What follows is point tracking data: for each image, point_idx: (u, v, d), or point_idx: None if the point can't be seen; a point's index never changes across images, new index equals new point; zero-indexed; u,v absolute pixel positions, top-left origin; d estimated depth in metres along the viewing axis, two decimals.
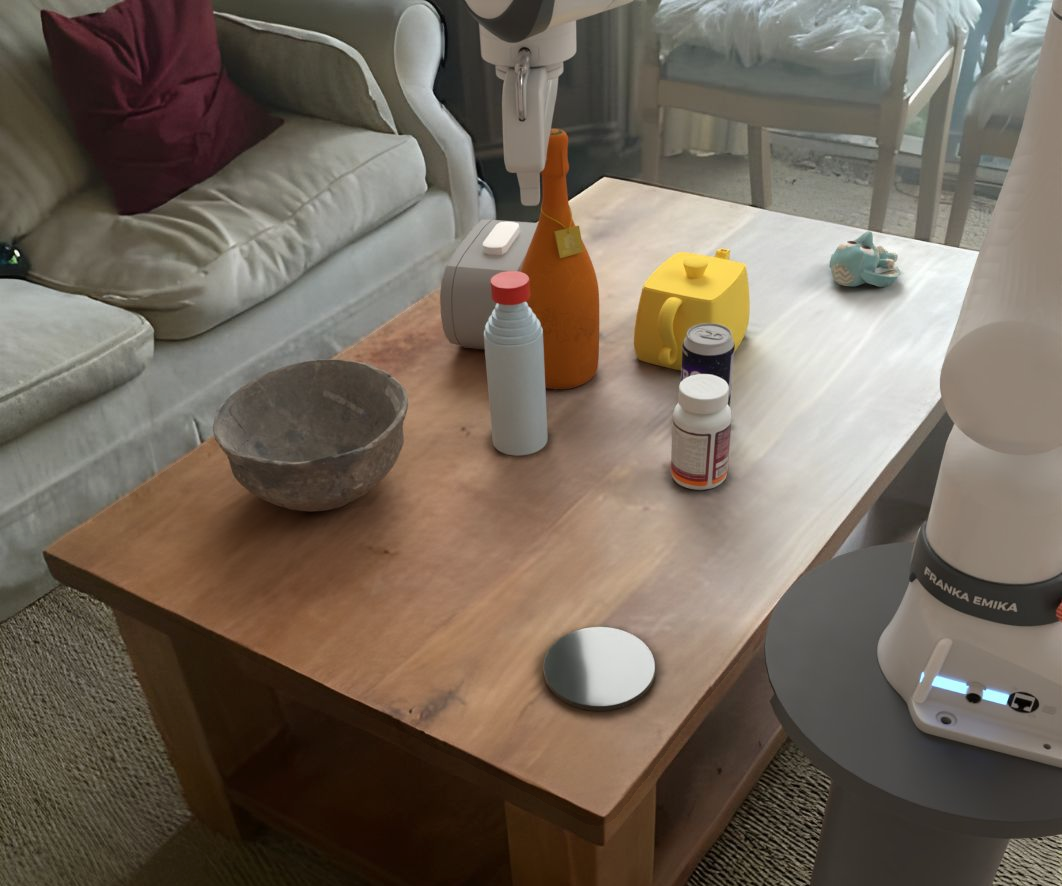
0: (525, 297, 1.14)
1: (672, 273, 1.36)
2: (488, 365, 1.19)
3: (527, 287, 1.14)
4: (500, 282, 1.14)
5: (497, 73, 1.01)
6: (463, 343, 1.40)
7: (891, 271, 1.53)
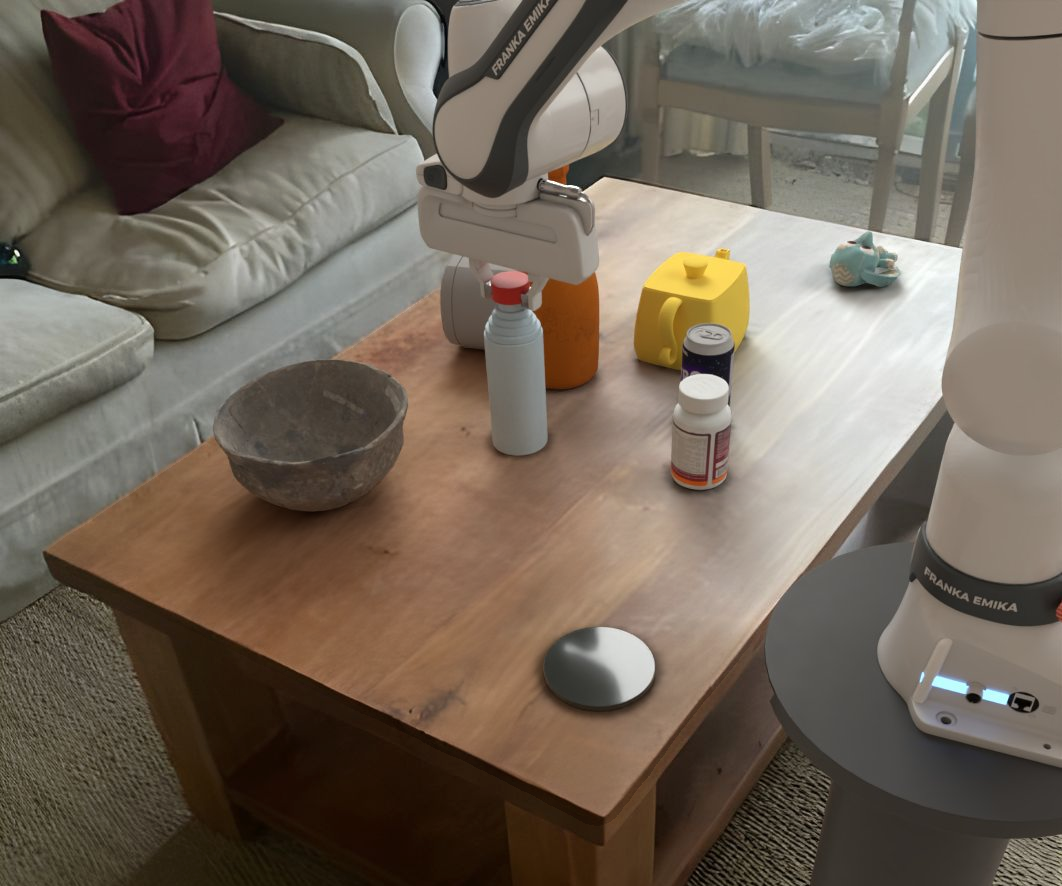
0: None
1: (672, 273, 1.36)
2: (488, 365, 1.19)
3: (527, 287, 1.14)
4: (501, 282, 1.14)
5: (497, 214, 1.06)
6: (463, 343, 1.40)
7: (891, 271, 1.53)
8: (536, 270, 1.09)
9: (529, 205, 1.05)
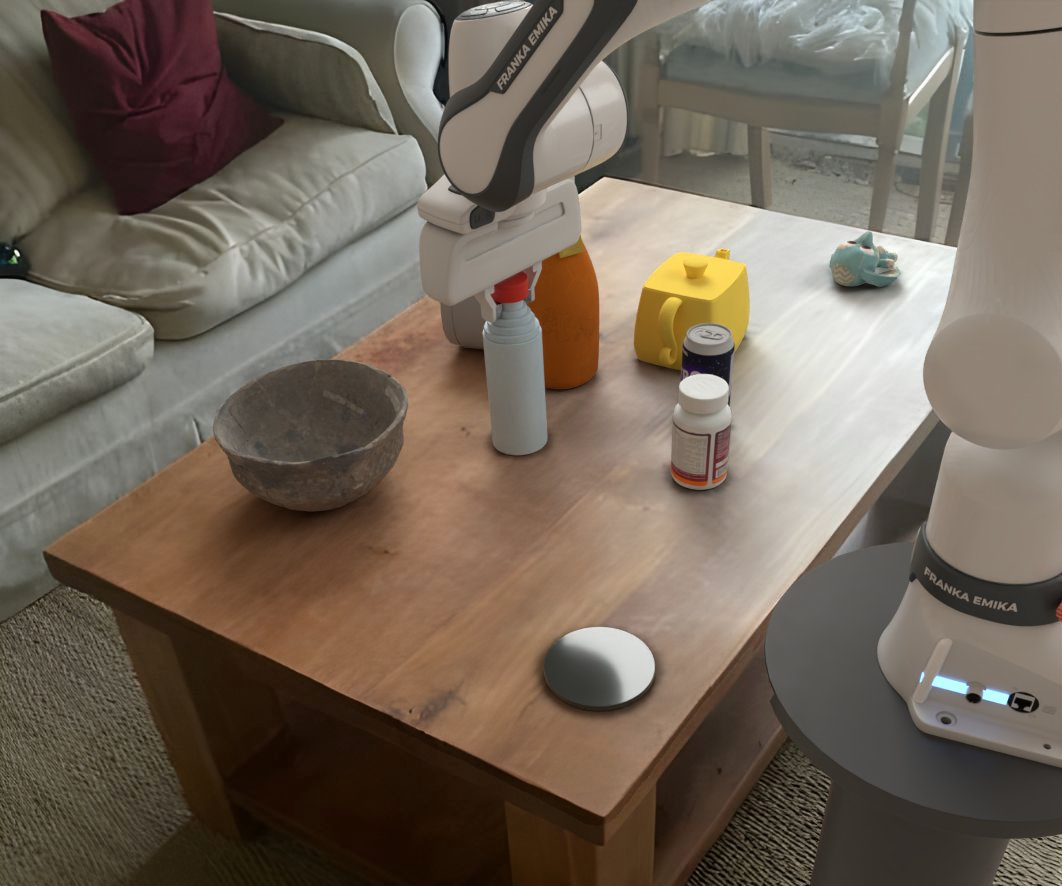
0: None
1: (672, 273, 1.36)
2: (487, 365, 1.19)
3: None
4: (511, 281, 1.13)
5: (532, 215, 1.09)
6: (463, 343, 1.40)
7: (891, 271, 1.53)
8: (549, 252, 1.15)
9: None
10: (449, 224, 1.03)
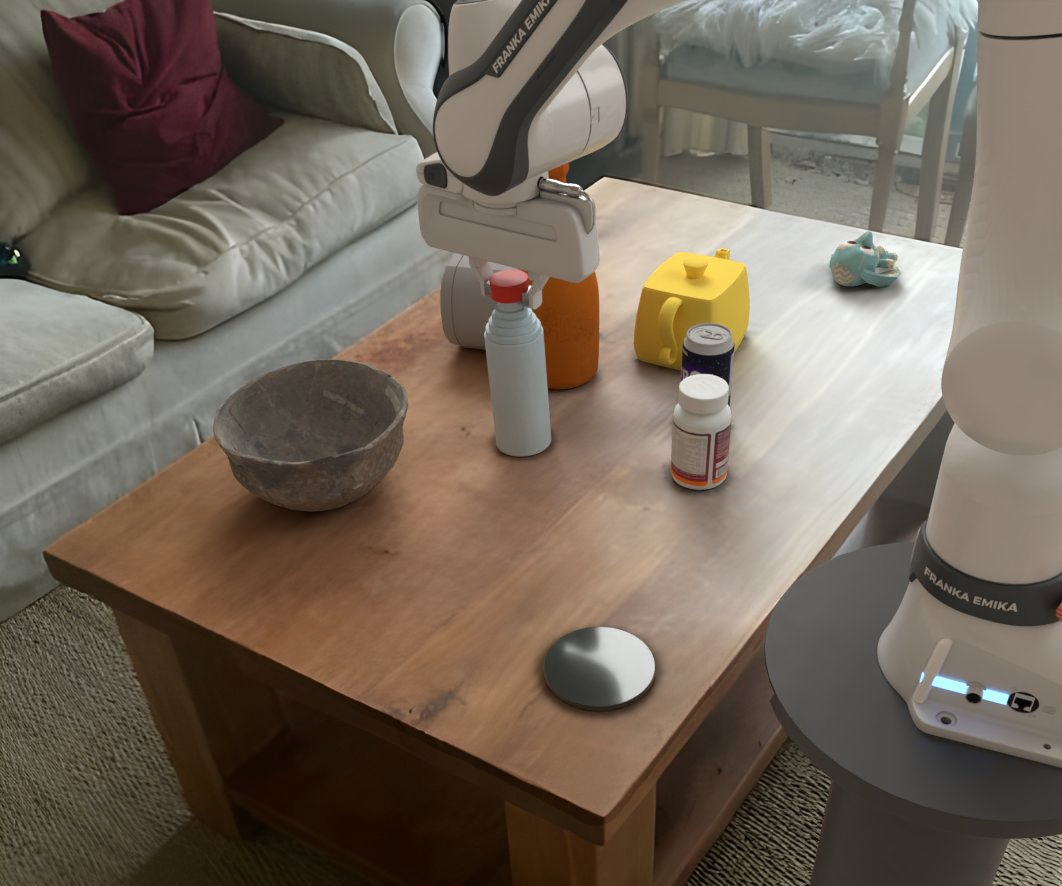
0: None
1: (672, 273, 1.36)
2: (489, 366, 1.19)
3: None
4: (518, 276, 1.14)
5: (498, 212, 1.06)
6: (463, 343, 1.40)
7: (891, 271, 1.53)
8: (536, 268, 1.09)
9: (529, 203, 1.05)
10: None
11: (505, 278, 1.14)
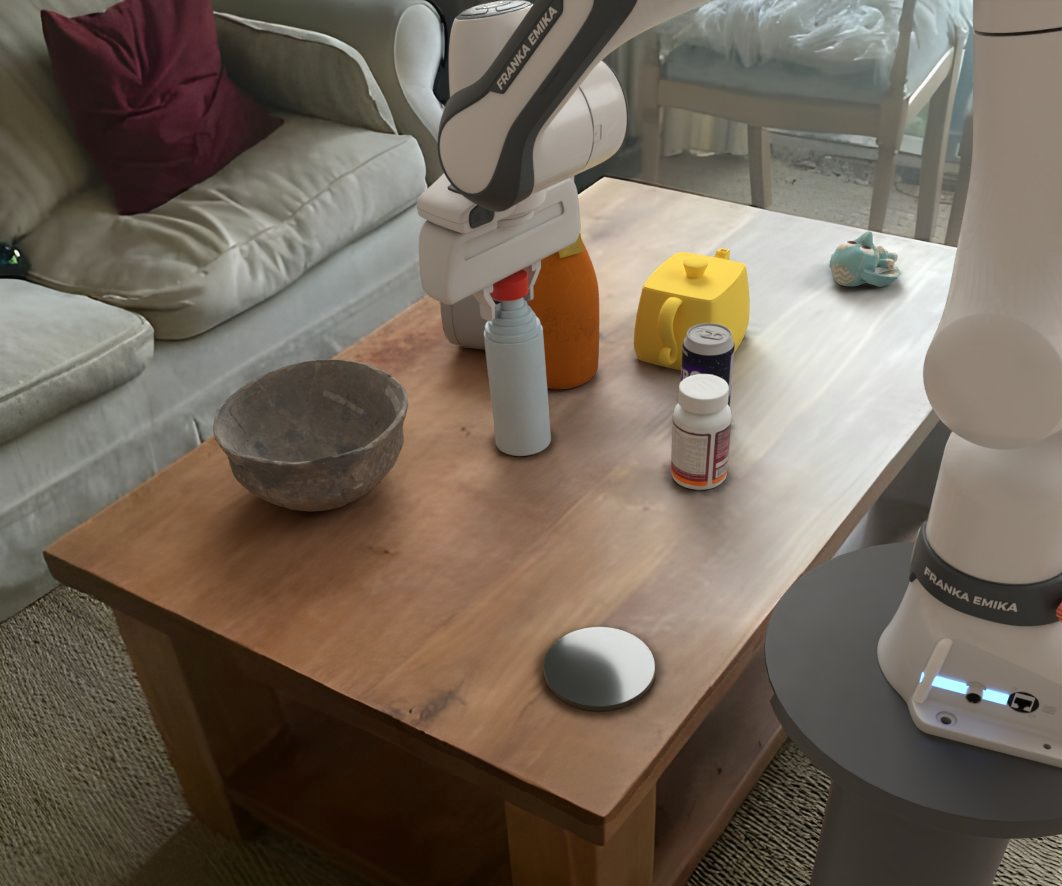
0: None
1: (672, 273, 1.36)
2: (489, 365, 1.19)
3: None
4: None
5: (531, 214, 1.09)
6: (463, 343, 1.40)
7: (891, 270, 1.53)
8: (548, 251, 1.15)
9: None
10: (448, 223, 1.03)
11: None
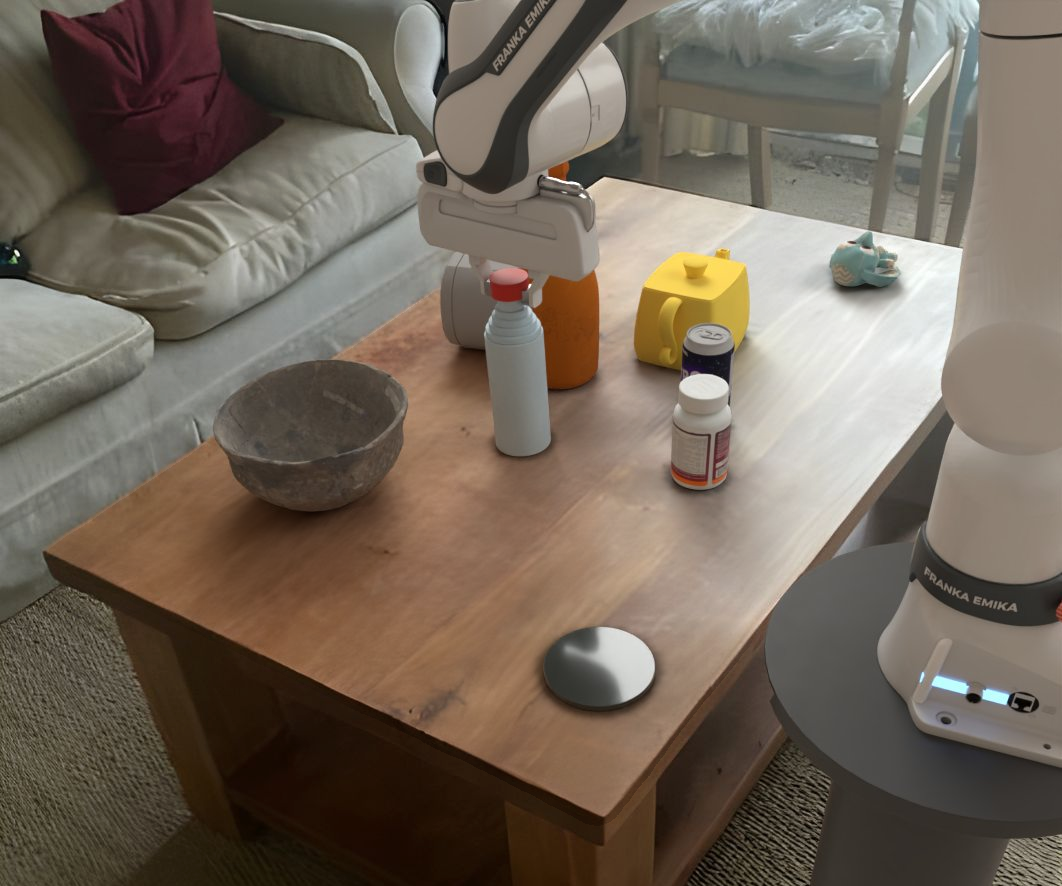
0: (512, 297, 1.13)
1: (672, 273, 1.36)
2: (489, 366, 1.19)
3: (516, 288, 1.13)
4: (498, 276, 1.14)
5: (498, 210, 1.06)
6: (463, 343, 1.40)
7: (891, 271, 1.53)
8: (536, 267, 1.09)
9: (529, 202, 1.05)
10: None
11: (511, 276, 1.14)
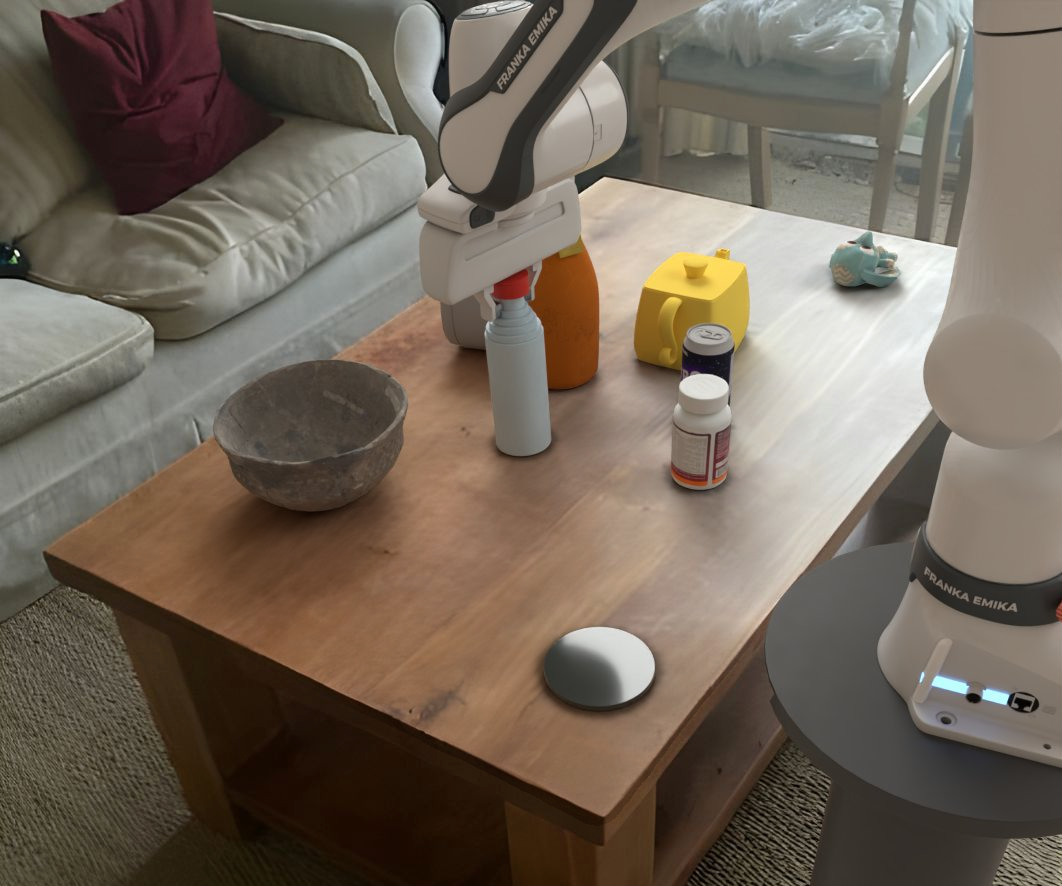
0: None
1: (672, 273, 1.36)
2: (490, 365, 1.19)
3: (528, 276, 1.14)
4: None
5: (532, 214, 1.09)
6: (463, 343, 1.40)
7: (891, 270, 1.53)
8: (549, 252, 1.15)
9: None
10: (449, 223, 1.03)
11: None
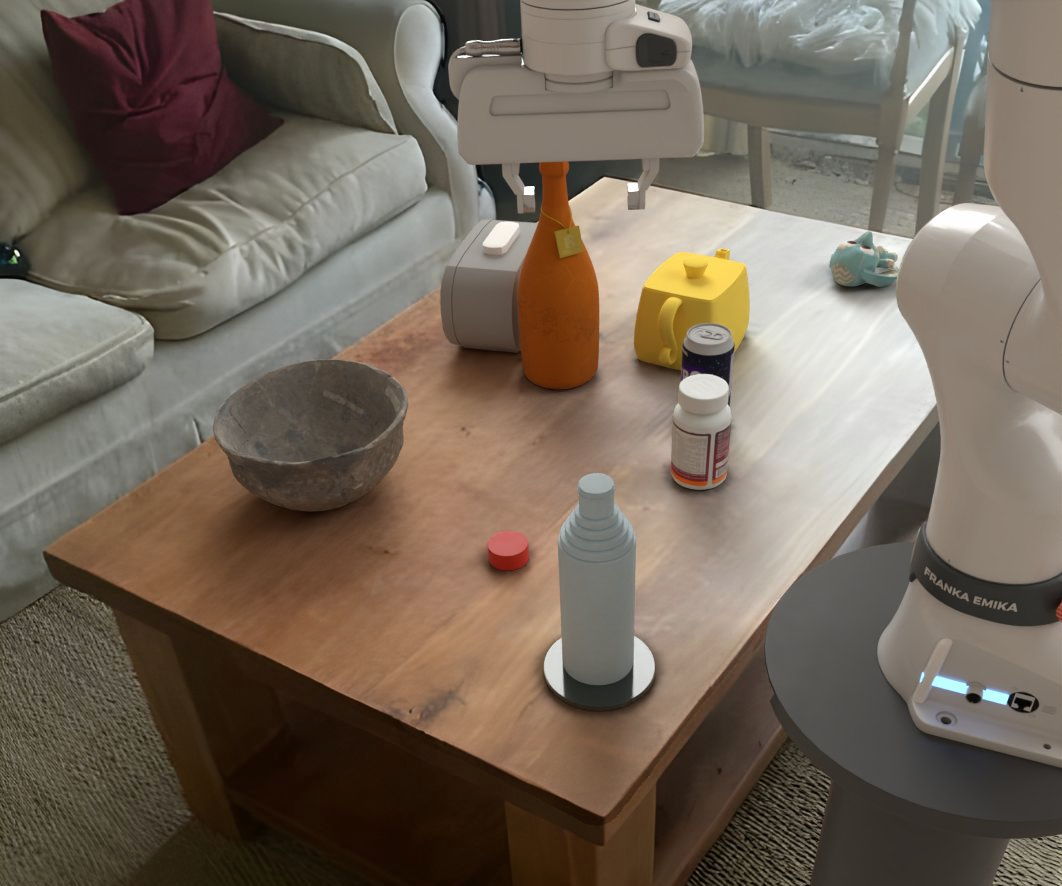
0: (528, 554, 1.11)
1: (672, 273, 1.36)
2: (633, 576, 0.91)
3: None
4: (503, 549, 1.09)
5: None
6: (463, 343, 1.40)
7: (891, 271, 1.53)
8: None
9: None
10: None
11: (508, 541, 1.10)
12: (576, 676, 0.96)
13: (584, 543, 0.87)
